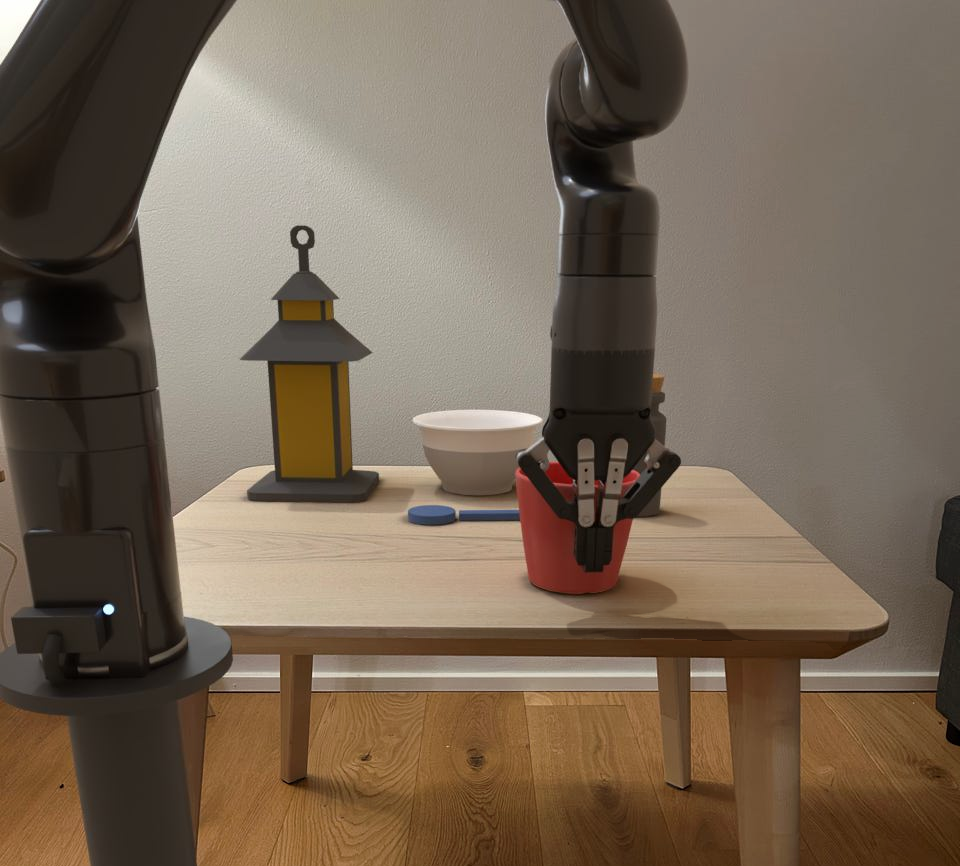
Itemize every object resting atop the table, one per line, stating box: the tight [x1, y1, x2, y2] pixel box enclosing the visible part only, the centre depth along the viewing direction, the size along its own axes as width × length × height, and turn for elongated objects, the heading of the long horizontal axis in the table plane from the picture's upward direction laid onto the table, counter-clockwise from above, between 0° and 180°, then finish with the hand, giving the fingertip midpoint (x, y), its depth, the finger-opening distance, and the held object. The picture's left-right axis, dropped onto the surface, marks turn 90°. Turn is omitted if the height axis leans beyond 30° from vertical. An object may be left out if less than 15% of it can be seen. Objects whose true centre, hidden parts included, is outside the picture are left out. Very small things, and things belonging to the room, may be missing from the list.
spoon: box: [407, 504, 520, 526], centre depth 106 cm, size 18×5×1 cm, turn 94°
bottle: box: [633, 373, 667, 518], centre depth 108 cm, size 6×6×15 cm
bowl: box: [411, 409, 544, 496], centre depth 120 cm, size 16×16×8 cm
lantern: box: [239, 224, 380, 503], centre depth 115 cm, size 14×14×30 cm
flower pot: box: [515, 461, 640, 595], centre depth 84 cm, size 11×11×10 cm
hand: (592, 569), depth 77 cm, fingers closed
